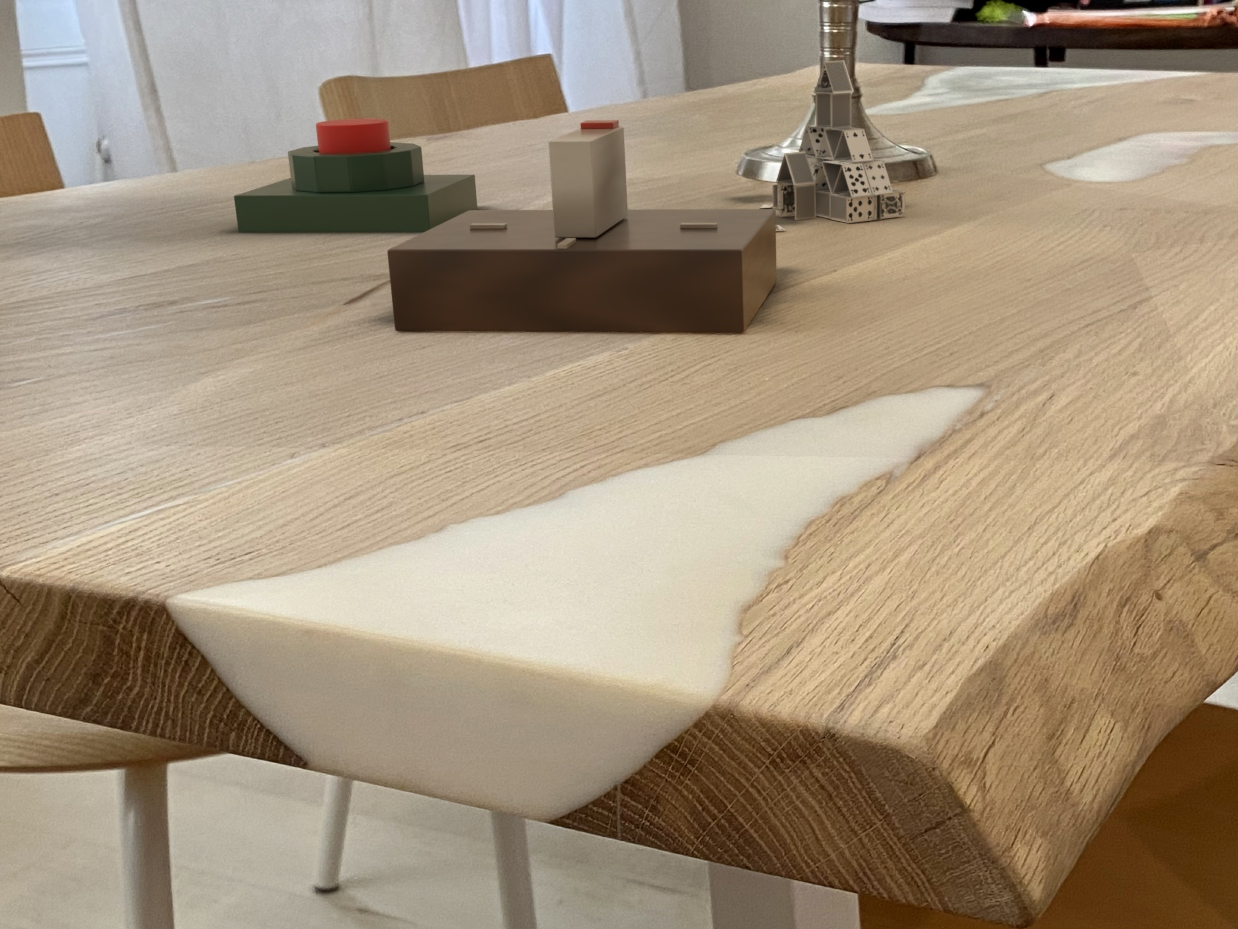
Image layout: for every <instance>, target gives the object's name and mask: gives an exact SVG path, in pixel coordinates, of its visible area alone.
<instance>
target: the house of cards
mask: <svg viewBox="0 0 1238 929" xmlns="http://www.w3.org/2000/svg"><path fill="white" fill-rule="evenodd" d="M854 92H855V90H854V88H853V84H852V81H851V77H850V75H849V72H848V68H847V65H846V62H845V59H842V60H826V61H823V63H822V66H821V70H820V73H819V76H818V80H817V83H816V86H815V90H814V93H815V124H810V125H806V126H805V130H804V133H803V135H802V139H801V143H800V146H799V148H798V151H794V152H784V154H783V156H782V160H781V163H780V167H779V170H778V173H777V177H776V181H775V182H776V183H774V184H772V188H771V189H772V203H764V204H762V205H761V206H760V207H759V209H771V208H772V209H774V210H775V209H777V210H779V217H780V218H783V217H791V216H794V221H798V220H807V219H815V218H816V217H821V218H826V219H829V220H833V221H838V222H843V223H845V224H853V223H862V222H868V221H878V220H879V221H881V220H882V219H892V218H901V217H906V190H900V189H894V188H893V186H892V185H891V184H892V183H891V180H890V177H889V174H888V171H887V168H886V165H885V160H883V159H876V158H874V157H873V154H872V151H871V147H870V144H869V141H868V137H867V134H866V131H865V128H860V127H852V93H854ZM782 231H786V229H785V228H784V227H783V226H781V225H779V224H776V232H782Z"/></svg>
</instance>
